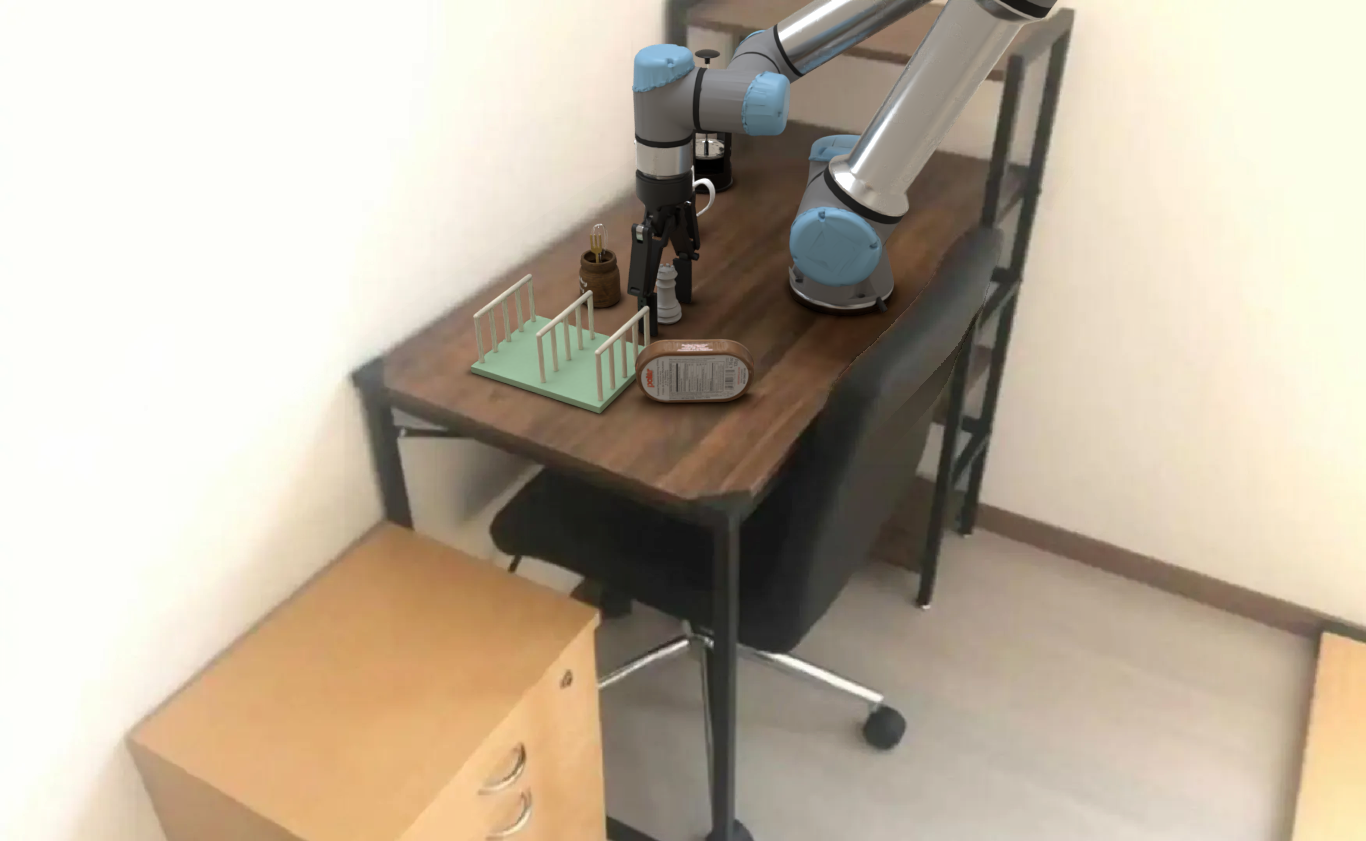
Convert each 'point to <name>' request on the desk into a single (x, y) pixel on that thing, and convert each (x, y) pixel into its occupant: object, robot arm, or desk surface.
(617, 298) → the utensil holder
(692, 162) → the robot arm
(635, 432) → the desk surface
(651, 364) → the tin
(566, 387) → the drying rack
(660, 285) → the rook chess piece
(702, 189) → the french press
